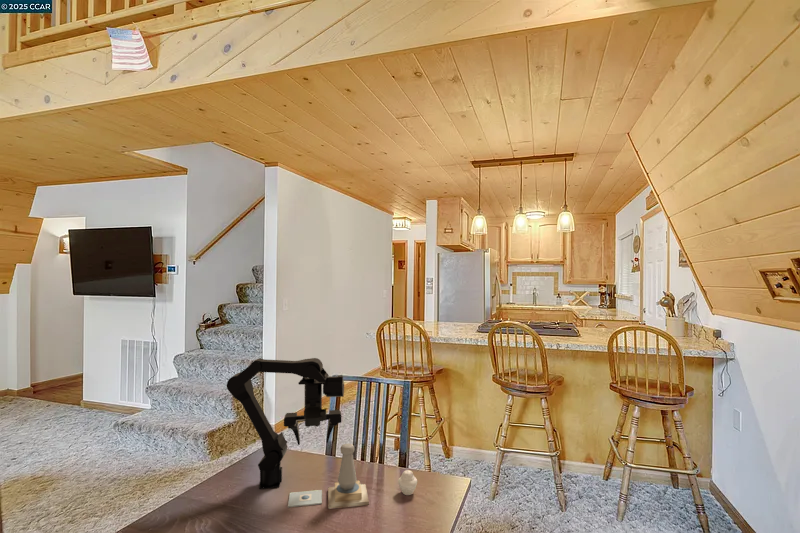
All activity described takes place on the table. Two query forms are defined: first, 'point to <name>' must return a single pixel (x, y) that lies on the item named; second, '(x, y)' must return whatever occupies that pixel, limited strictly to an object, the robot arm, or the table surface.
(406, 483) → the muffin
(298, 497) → the pale grey rectangular tile
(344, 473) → the beige mushroom knob
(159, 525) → the table surface
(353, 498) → the foundation
